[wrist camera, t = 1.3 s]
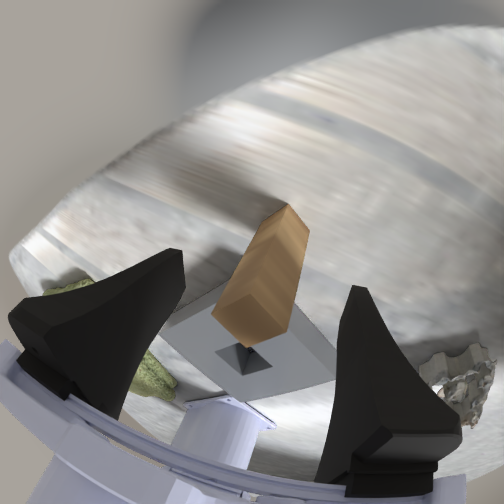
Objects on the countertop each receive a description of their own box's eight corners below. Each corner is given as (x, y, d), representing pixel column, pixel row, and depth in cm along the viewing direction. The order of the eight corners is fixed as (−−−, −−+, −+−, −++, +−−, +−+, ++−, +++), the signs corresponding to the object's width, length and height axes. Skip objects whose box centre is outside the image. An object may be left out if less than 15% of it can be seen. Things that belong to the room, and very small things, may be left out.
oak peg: (282, 247, 17) (246, 347, 11) (262, 222, 17) (210, 314, 10) (309, 230, 16) (286, 332, 10) (288, 203, 16) (249, 293, 9)
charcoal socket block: (247, 381, 26) (240, 402, 24) (171, 314, 24) (158, 334, 22) (339, 353, 21) (337, 379, 19) (258, 262, 18) (247, 285, 16)
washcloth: (122, 380, 37) (112, 396, 34) (48, 285, 30) (32, 300, 27) (188, 388, 31) (178, 409, 29) (98, 267, 24) (77, 287, 22)
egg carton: (469, 399, 21) (474, 430, 17) (407, 411, 24) (408, 444, 20) (496, 334, 16) (509, 372, 13) (418, 351, 19) (423, 393, 16)
